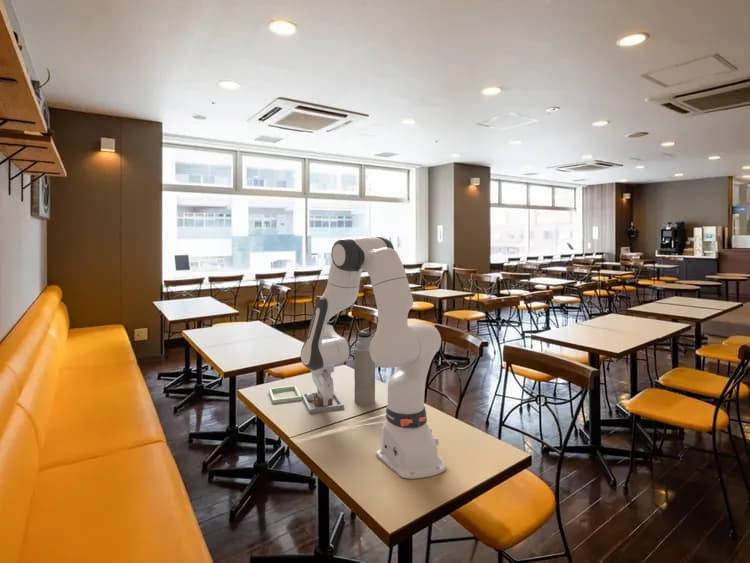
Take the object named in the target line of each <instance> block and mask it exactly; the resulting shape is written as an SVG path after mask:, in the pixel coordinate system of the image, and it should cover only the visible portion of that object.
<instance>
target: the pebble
mask: <svg viewBox="0 0 750 563" xmlns="http://www.w3.org/2000/svg"><path fill="white" fill-rule="evenodd" d="M308 393H309V394H307V395H306V399H307V401H308V402H312V401H314V396H313V394H311V393H312V392H308Z"/></svg>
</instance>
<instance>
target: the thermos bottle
mask: <svg viewBox="0 0 750 563" xmlns="http://www.w3.org/2000/svg"><path fill="white" fill-rule="evenodd" d="M357 335H358V339H357V341H356V343H355V347H354V352H353V353H354V354H353V355H354V357H353V358H354V359H353V360H354V361H353V362H354V366H353V367H354V372H353V374H354V403H355V404H356V405H357V406H358V405H359V406H370V405H373V404H375V402H376V364H375V363H374V361H373V360H372V358H371V356H370V351H369V347H370V342H371V340H372V333H370V332H360V333H358V334H357Z"/></svg>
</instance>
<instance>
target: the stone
mask: <svg viewBox="0 0 750 563" xmlns="http://www.w3.org/2000/svg"><path fill="white" fill-rule="evenodd" d="M316 392H317V399H318V400H320V399H323V396H322V394H321V393H320V392H318V391H316Z"/></svg>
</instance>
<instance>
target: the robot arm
mask: <svg viewBox="0 0 750 563" xmlns="http://www.w3.org/2000/svg"><path fill="white" fill-rule="evenodd" d="M330 253H331V254H330V256H331V260H332V261H331V263H330V267H329V272H328V276H327V277H328V278H327V283H326V288H325V290H324V292H323V293H322V295H321V296H320V298H319V299H318V300H317V301H316V304H315V305H314V309H313V312H312V315H311V319H310V322H309V326H308V329H307V330H308V331H307V335H306V338H305V341H304V343H303V345H302V348H301V350H300V359H301V363H302V364H303V366H304V367H306V369H308V370H310V372H311V376H312V377H311V378H312V382H313V383H314V385H315V387H316V390H317V391H316V392H320V393H321V394H322V396H323V400H322V401H323V405H324V406H327V405H328V400H329V398H334V397H333V396H334V392H335V390H334V389H335V388H334V379H333V377H332V373H334V372H335V365H338V364H339V365H340V364H342V363H346V362H347V361H349V359H350V357H351V354H352V348H351V347H352V346H351V344H350V343H351V342H350V341H349V340H348V339H346V338H345V337H344V336H341V335H339V334H338V333H337V332H336V331H335V328H334V327H333V325H332V324H328V322H329V321H330V319H332V318H333V317H334V316H335V315H337V314H338V313H340V312H343V311H344V310H346V309H348V308H349V307H351V306H352V305H353V304H355V302H356V301H357V298H358V296H359V292H360V283H361V276H362V272H363V271H364V272H367V274H368V276H369V278H370V282H371V287H372V291H373V295H374V298H375V299H374V300H375V304H376V308H377V325H376V326H377V327H376V331H375V333H374V335H373V337H371V342H370V347H369V351H370V356H371V358H372V360H373V361H374V363H375V366H377V367H378V368H383V369H387V368H388V369H390V368H392V369H393V368H394V369H395V371H394V373H392V375H391V376H390V377H389V379H388V382H387V405H386V408H385V418H386V421H385V422H384V424H383V425H382V427H381V434H380V446H379V447H380V448H379V449H377V450H376V452H375V453H376V454H375V456H376V457H377V458H378V459H379V460H380V461H382V462H383V463H384V464H386V465H387V466H388V467H389V468H390V469H391V470H393V471H394V472H395V473H396V474H397V475H398V476H400V478H403V479H423V478H429V477H432V476H435V475H439V474H441V473H443V472H445V470H446V469H447V466H446V463H445V462H444V460H443V458H442V457H441V455H440V452H439V451H438V446H439V445H440V442H439V438H438V437H434V436H433V429H432V428H431V427H430V426H429V425H428V416H427V411H426V407H425V389H426V388H425V387H426V379H427V375H428V372H429V369H430V366H431V364H432V361H433V359H434V358H435V355H436V353H437V352H438V351H439V350H440V348H441V346H442V337H441V334H440V331H439V330H438V328H437V327H435V325H433V324H429V323H413V324H409V322H408V318H409V317H408V315H409V312H410V310H411V308H412V307H413V305H414V297H413V294H412V291H411V287H410V284H409V280H408V276H407V274H406V270H405V267H404V264H403V262H402V260H401V258H400V256H399V254H398V252H397V251H396V249H395V248H394V245H393V243H392V242H391V241H390V240H389V239H387V238H385V237H380V236H378V237H377V236H376V237H374V236H363V235H361V236H353V237H343V238H339V239H338V240H336V241H335V242H334V243H333V245H332V248H331V252H330Z"/></svg>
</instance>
